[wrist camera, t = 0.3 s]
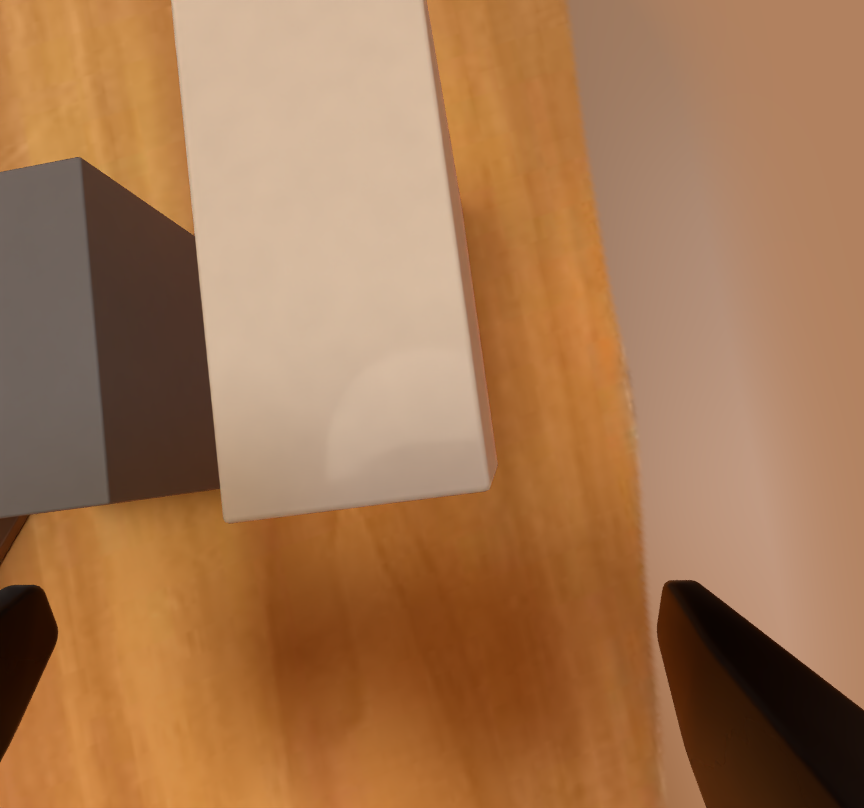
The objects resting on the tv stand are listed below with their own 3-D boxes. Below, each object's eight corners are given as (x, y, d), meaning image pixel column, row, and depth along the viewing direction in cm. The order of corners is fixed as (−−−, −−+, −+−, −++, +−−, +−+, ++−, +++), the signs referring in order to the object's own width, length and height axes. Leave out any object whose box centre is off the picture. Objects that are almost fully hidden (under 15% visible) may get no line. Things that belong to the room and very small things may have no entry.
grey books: (230, 260, 22) (79, 155, 14) (254, 484, 22) (109, 504, 14) (74, 286, 23) (-153, 200, 15) (92, 505, 22) (-136, 536, 14)
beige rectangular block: (461, 206, 21) (410, -96, 10) (498, 467, 21) (491, 490, 9) (348, 226, 22) (164, -41, 10) (380, 482, 21) (221, 524, 9)
